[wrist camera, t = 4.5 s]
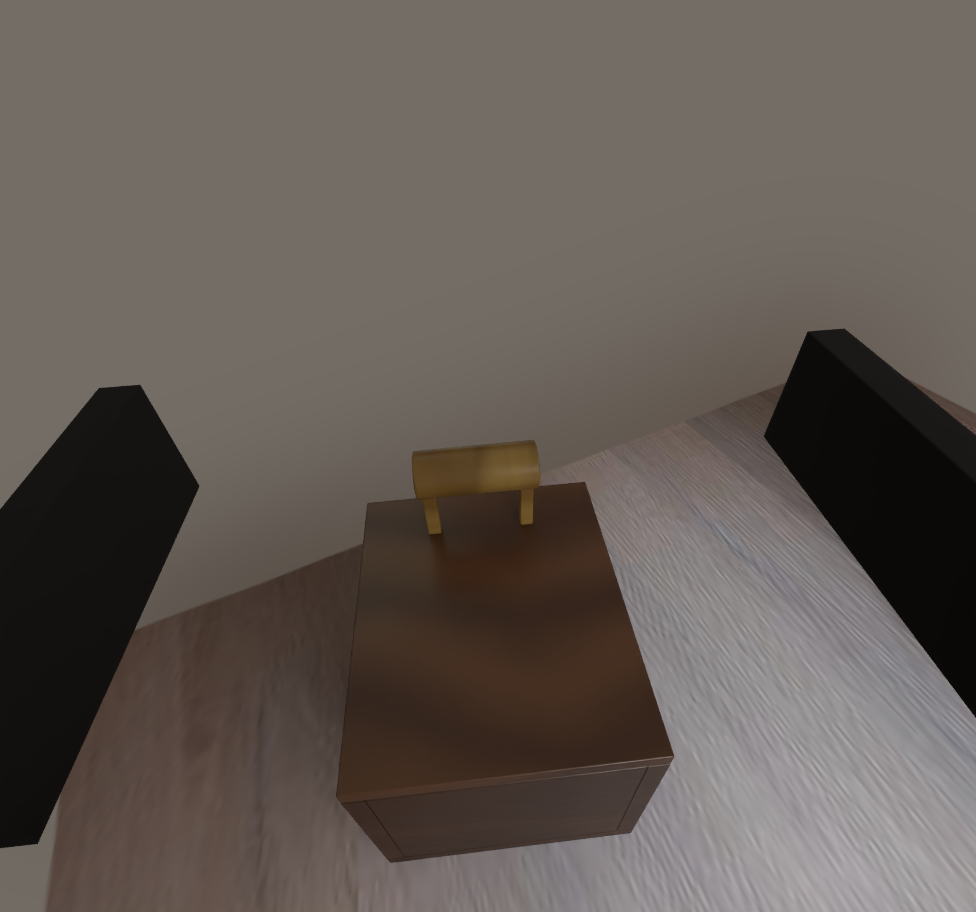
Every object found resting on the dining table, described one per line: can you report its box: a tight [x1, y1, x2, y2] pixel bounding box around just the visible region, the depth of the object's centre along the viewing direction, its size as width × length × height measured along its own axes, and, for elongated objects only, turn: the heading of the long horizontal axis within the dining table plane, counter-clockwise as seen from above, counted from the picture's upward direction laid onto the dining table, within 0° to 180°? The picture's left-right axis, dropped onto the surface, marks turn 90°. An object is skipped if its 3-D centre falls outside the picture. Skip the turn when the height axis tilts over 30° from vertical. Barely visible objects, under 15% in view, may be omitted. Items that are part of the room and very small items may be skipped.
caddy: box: [341, 764, 670, 863], centre depth 29 cm, size 14×13×11 cm
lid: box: [336, 440, 674, 803], centre depth 23 cm, size 15×13×6 cm
